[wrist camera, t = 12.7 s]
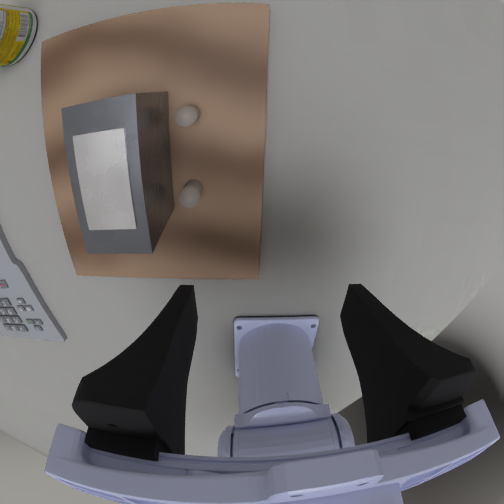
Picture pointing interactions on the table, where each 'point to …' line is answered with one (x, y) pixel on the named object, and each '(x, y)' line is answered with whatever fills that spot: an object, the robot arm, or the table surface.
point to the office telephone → (23, 301)
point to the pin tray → (175, 129)
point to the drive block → (120, 171)
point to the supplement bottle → (15, 33)
